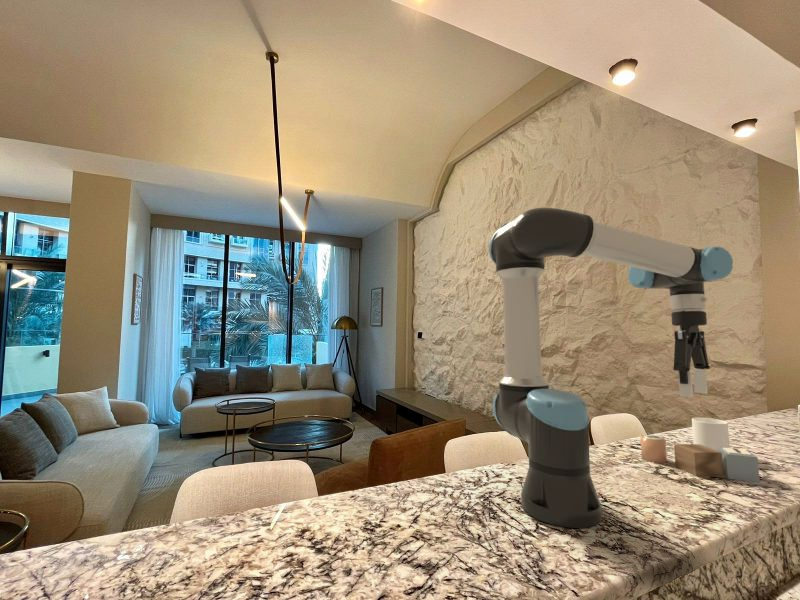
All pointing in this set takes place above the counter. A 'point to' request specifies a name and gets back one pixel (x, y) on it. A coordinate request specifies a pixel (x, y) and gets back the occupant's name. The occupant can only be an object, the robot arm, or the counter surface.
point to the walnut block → (698, 460)
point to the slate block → (740, 464)
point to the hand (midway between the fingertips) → (693, 394)
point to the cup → (710, 433)
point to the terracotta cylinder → (653, 449)
